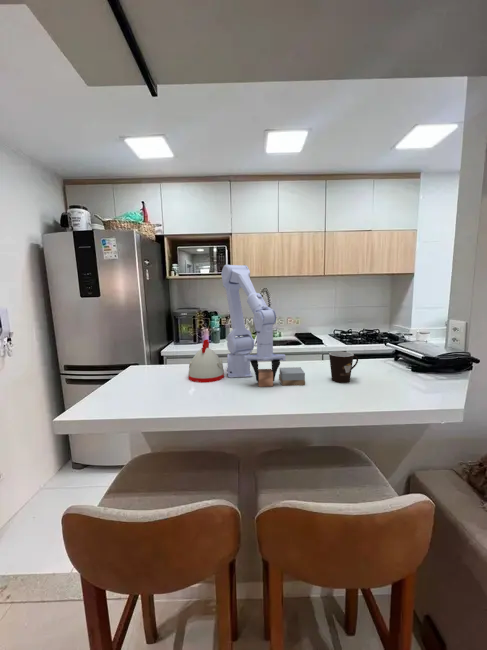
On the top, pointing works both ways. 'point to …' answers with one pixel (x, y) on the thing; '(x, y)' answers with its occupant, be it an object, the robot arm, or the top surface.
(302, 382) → the walnut slab
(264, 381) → the terracotta cube
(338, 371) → the coffee mug
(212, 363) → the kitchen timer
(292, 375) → the slate slab
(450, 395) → the top surface
